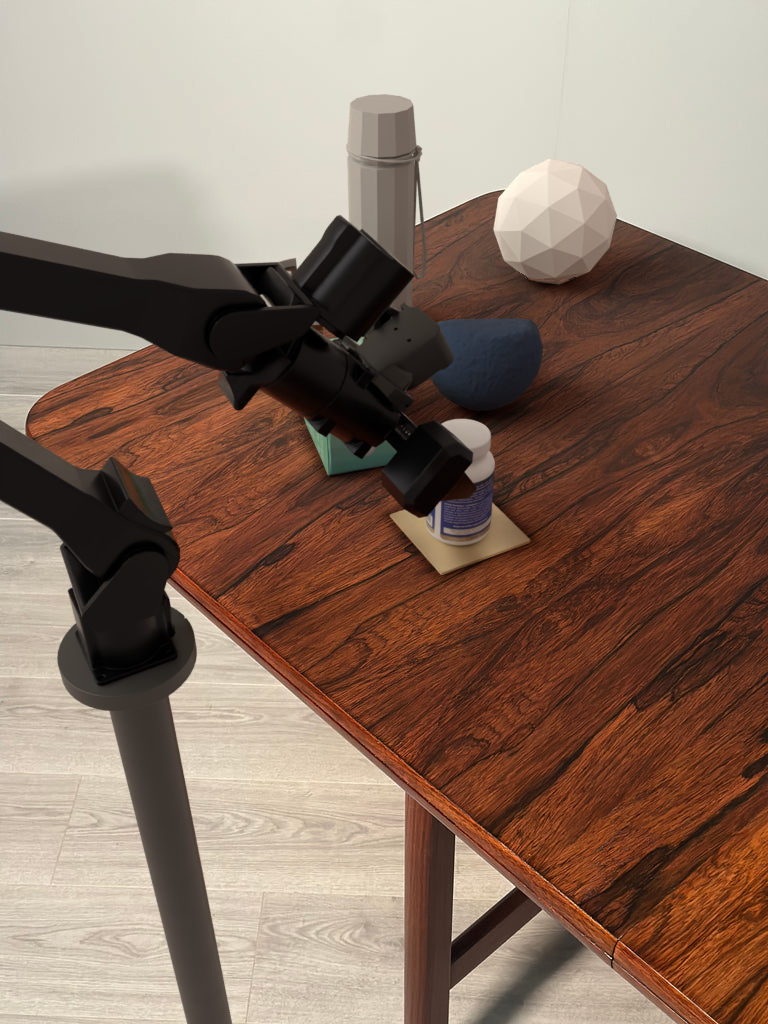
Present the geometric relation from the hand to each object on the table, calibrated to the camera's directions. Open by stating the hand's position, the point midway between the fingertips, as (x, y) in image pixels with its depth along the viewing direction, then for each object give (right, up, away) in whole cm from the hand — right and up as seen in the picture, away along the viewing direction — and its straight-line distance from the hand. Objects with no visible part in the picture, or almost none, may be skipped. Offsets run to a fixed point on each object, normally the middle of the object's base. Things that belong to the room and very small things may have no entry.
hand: (442, 463), depth 86 cm
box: (-9, +3, +17) cm, 20 cm away
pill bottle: (+2, -6, +5) cm, 8 cm away
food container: (-16, +12, +28) cm, 34 cm away
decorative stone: (+5, +7, +22) cm, 24 cm away
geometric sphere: (+16, +26, +46) cm, 55 cm away
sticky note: (+2, -6, +6) cm, 8 cm away
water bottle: (-4, +18, +36) cm, 41 cm away
